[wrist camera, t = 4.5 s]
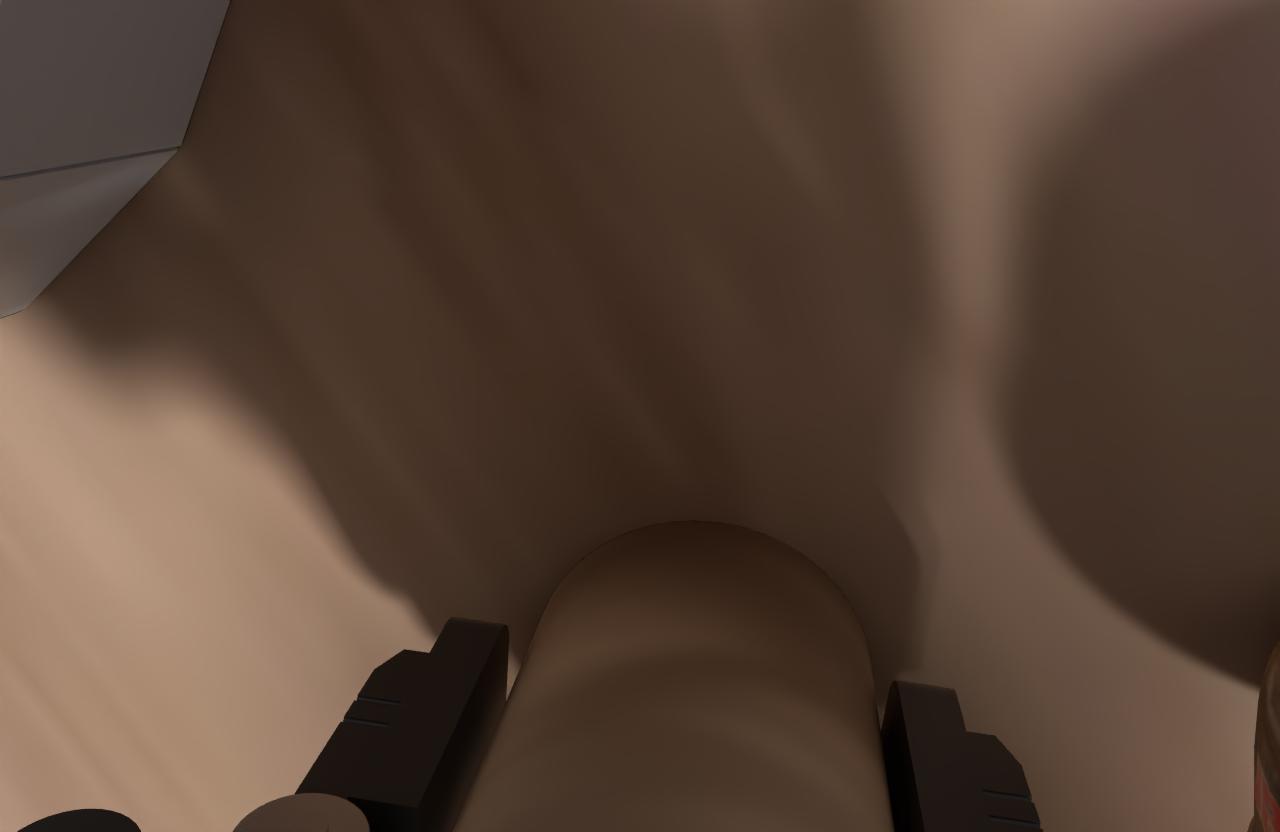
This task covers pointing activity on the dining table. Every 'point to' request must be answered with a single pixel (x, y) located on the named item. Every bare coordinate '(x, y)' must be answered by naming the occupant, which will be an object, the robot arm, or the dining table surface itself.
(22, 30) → the round tray
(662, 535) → the walnut bead
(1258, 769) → the tin
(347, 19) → the dining table surface
